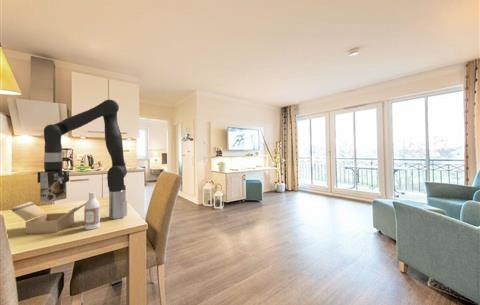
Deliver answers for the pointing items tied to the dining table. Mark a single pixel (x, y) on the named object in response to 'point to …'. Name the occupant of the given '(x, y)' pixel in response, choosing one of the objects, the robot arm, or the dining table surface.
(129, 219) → the dining table surface
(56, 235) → the dining table surface
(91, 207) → the bath foam
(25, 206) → the flap
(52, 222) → the carton
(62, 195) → the coffee box
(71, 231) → the dining table surface
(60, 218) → the flap
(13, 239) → the dining table surface
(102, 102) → the robot arm
